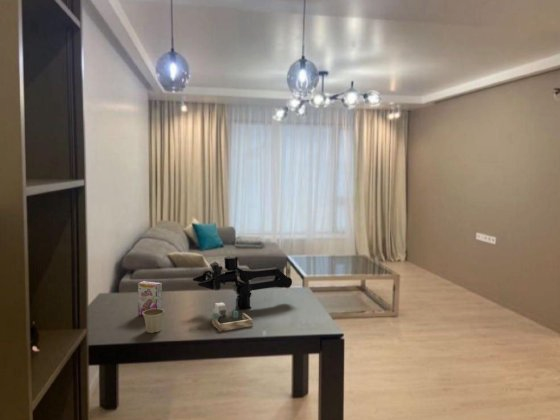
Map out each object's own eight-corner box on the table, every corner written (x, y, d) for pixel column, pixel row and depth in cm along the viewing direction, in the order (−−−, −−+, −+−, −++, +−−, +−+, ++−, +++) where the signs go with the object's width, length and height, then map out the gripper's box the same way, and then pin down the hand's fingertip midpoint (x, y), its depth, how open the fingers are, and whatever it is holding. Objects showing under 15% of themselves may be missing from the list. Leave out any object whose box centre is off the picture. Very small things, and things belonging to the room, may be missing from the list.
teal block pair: (236, 316, 212) (236, 310, 211) (238, 317, 210) (238, 311, 210) (213, 320, 206) (213, 313, 206) (214, 321, 205) (214, 315, 204)
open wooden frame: (244, 318, 208) (244, 312, 208) (252, 325, 198) (252, 319, 198) (212, 323, 201) (212, 317, 201) (219, 331, 192) (218, 324, 191)
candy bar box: (137, 315, 213) (136, 283, 211) (144, 312, 217) (143, 280, 216) (157, 318, 209) (156, 285, 208) (163, 315, 214) (162, 282, 212)
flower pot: (145, 327, 197) (144, 308, 196) (166, 326, 198) (166, 308, 197) (140, 334, 188) (140, 315, 187) (162, 334, 188) (162, 314, 188)
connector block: (222, 311, 219) (222, 302, 218) (227, 316, 212) (227, 306, 212) (215, 313, 217) (214, 303, 217) (219, 317, 211) (219, 307, 210)
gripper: (219, 258, 227) (189, 261, 221) (231, 266, 211) (199, 270, 204) (219, 278, 229) (190, 283, 222) (231, 288, 212) (200, 293, 205)
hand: (195, 281), depth 213 cm, fingers open, 9 cm apart
